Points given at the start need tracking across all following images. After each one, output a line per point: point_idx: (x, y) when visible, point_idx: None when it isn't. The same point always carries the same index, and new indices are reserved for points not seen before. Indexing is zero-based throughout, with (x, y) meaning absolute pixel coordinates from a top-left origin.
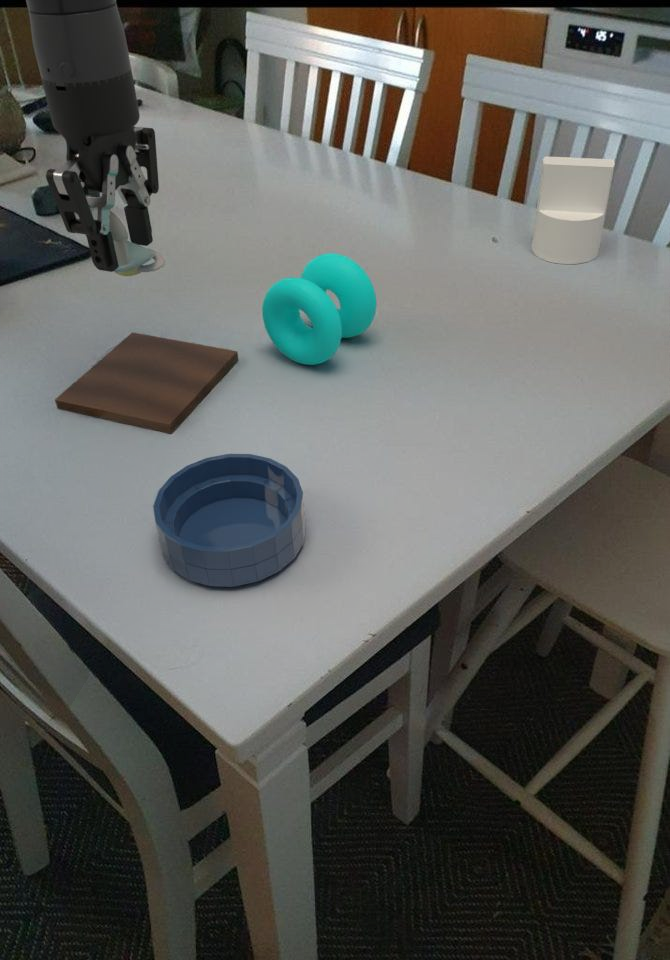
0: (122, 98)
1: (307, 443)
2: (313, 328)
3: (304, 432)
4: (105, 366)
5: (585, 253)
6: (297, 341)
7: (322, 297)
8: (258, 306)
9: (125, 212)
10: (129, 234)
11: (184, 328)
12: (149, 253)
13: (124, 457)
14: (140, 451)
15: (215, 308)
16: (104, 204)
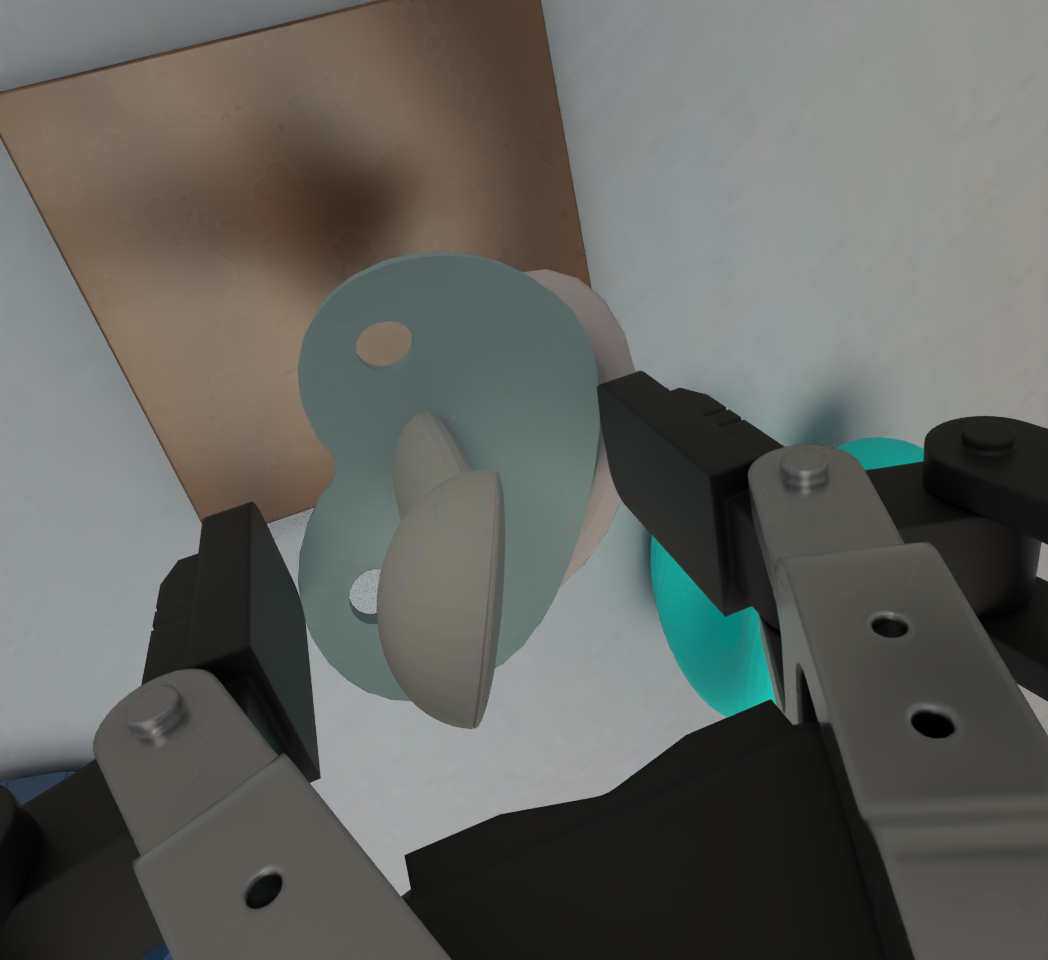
0: None
1: (407, 746)
2: (704, 653)
3: (434, 718)
4: (286, 86)
5: None
6: None
7: None
8: (880, 210)
9: (690, 466)
10: (617, 396)
11: (679, 86)
12: (551, 545)
13: (36, 515)
14: (92, 525)
15: (830, 82)
16: None
